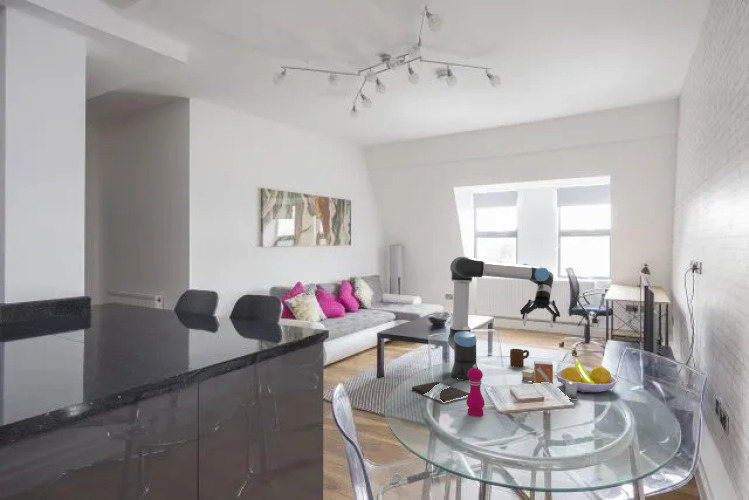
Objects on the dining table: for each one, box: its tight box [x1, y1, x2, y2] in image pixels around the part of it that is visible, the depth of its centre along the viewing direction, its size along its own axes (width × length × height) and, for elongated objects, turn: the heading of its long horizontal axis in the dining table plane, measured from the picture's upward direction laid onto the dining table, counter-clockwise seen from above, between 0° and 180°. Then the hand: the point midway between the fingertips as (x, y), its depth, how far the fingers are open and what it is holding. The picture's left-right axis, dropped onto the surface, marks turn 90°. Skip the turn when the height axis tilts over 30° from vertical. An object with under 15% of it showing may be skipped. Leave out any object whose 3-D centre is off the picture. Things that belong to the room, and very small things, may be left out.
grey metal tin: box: [564, 381, 578, 400], centre depth 188 cm, size 5×5×7 cm
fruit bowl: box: [554, 358, 618, 393], centre depth 204 cm, size 28×27×11 cm
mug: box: [509, 348, 530, 368], centre depth 248 cm, size 12×8×9 cm, turn 103°
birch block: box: [521, 368, 534, 382], centre depth 217 cm, size 5×5×5 cm
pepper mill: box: [465, 364, 485, 417], centre depth 170 cm, size 7×7×20 cm
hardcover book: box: [411, 381, 470, 402], centre depth 196 cm, size 16×23×2 cm
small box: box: [533, 360, 554, 385], centre depth 202 cm, size 8×6×13 cm
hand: (537, 325), depth 220 cm, fingers open, 13 cm apart
